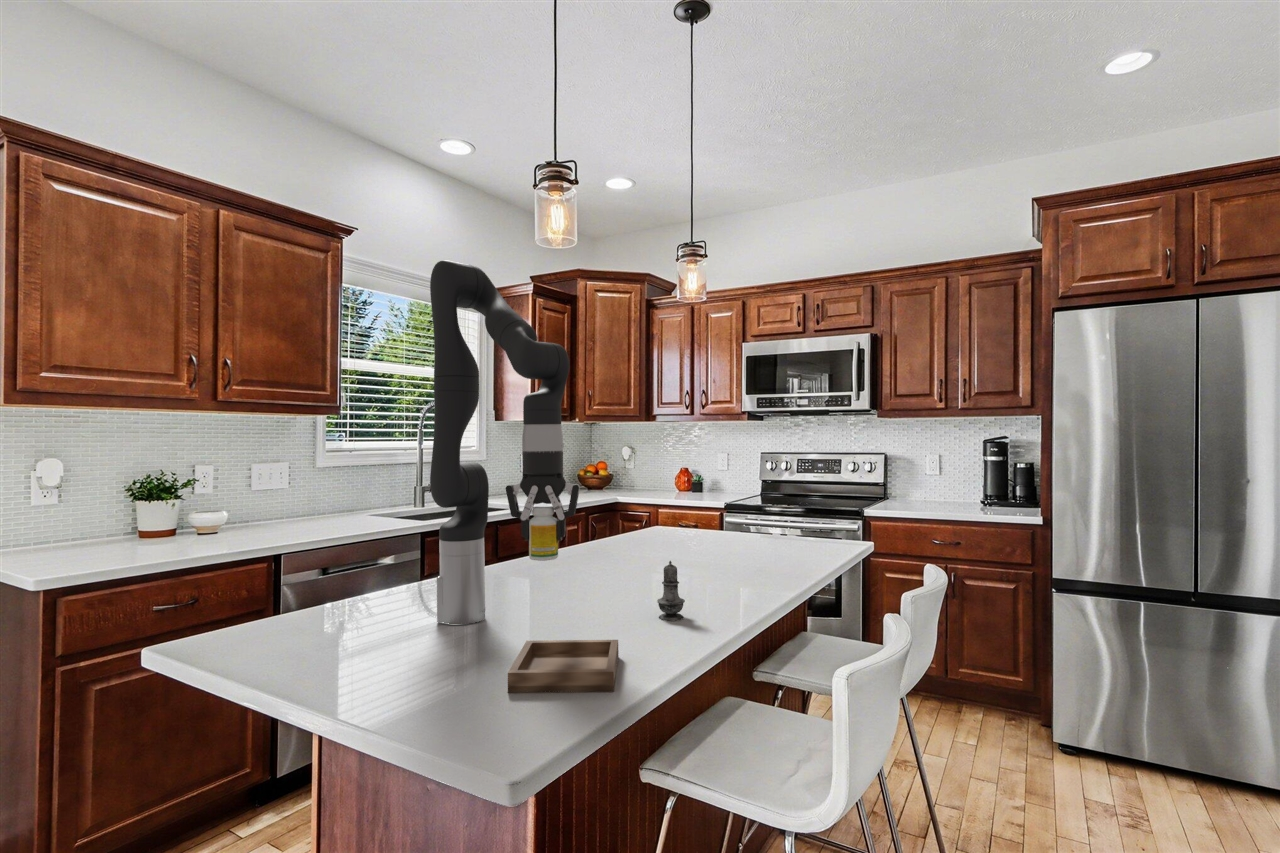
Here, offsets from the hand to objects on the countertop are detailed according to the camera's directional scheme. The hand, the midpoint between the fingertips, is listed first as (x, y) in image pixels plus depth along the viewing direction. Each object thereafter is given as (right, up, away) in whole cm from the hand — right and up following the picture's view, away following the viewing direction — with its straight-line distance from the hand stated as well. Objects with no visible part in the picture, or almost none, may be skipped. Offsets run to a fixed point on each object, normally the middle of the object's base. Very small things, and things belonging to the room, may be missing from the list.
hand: (543, 539), depth 127 cm
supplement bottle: (0, -4, 0) cm, 4 cm away
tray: (+6, -19, -16) cm, 26 cm away
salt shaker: (+24, -19, +17) cm, 35 cm away
